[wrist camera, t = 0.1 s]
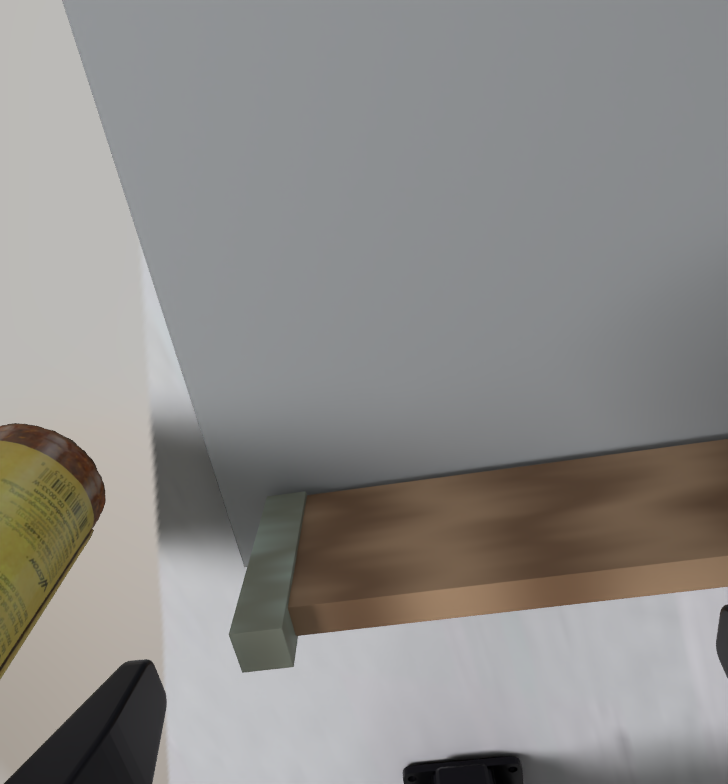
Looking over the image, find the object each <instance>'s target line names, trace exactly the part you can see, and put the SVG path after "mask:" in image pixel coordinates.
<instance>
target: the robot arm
mask: <svg viewBox="0 0 728 784" xmlns="http://www.w3.org/2000/svg"><path fill="white" fill-rule="evenodd" d="M716 649H717V654H718V657H719V660H720V662H721V665H722V667H723V669H724V671H725V673H726V676H727V678H728V605H725V606H723V608H722V609H721V612H720V618H719V625H718V632H717V639H716ZM166 704H167V700H166V693H165V690H164V688H163V685H162V683H161V680H160V678H159V675H158V673H157V670H156V668H155V666H154V664H153V662H152V661H150V660H147V659H146V660H135V661H128V662H125V663H124V664H122V665H121V666H120V667H119V668H118V669H117V670H116V671H115V672H114V673H113V674H112V675H111V676H110V677H109V678H108V679H107V680H106V681H105V682H104V683H103V684H102V685H101V686H100V687H99V689H97V690H96V691H95V692H94V693H93V694H92V695H91V696H90V697H89V698H88V699H87V700H86V701H85V702H84V703H83V704H82V705H81V706H80V707H79V708H78V709H77V710H76V711H75V712H74V713H73V714H72V715H71V716H70V718H68V719H67V720H66V722H64V724H63V725H62V726H61V727H60V728H59V729H58V730H57V731H56V732H55V733H54V734H53V735H52V736H51V737H50V738H49V739H48V740H47V741H46V742H45V743H44V744H43V745H42V746H41V747H40V748H39V749H38V750H37V751H36V752H35V753H34V754H33V755H32V756H31V757H30V758H29V759H28V760H27V761H26V762H25V763H24V764H23V765H22V766H21V767H20V768H19V769H18V770H17V771H16V772H15V773H14V774H13V775H12V776H11V777H10V778H9V779H8V780H7V781H6V782H5V783H4V784H152V782H153V777H154V771H155V766H156V761H157V755H158V750H159V744H160V739H161V734H162V728H163V723H164V718H165V712H166ZM403 781H404V784H523V773H522V766H521V762H520V759H519V758H517V757H500V758H489V759H479V760H468V761H458V762H447V763H437V764H426V765H415V766H408V767H406V768H404V770H403Z"/></svg>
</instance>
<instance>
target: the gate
mask: <svg viewBox="0 0 728 784" xmlns="http://www.w3.org/2000/svg"><path fill="white" fill-rule="evenodd" d="M720 587H728V439H724V440H716V441H709V442H701V443H694V444H686V445H679V446H671V447H664V448H657V449H649V450H642V451H634V452H627V453H619V454H612V455H604V456H597V457H589V458H582V459H574V460H567V461H559V462H552V463H544V464H537V465H530V466H522V467H515V468H507V469H500V470H492V471H485V472H477V473H470V474H462V475H455V476H447V477H440V478H432V479H425V480H418V481H410V482H403V483H395V484H388V485H380V486H373V487H365V488H358V489H350V490H343V491H335V492H328V493H320V494H313V495H307V493H306V491H304V492H296V493H289V494H281V495H274V496H267V498H266V502H265V505H264V509H263V513H262V516H261V520H260V524H259V527H258V531H257V534H256V538H255V542H254V545H253V549H252V552H251V556H250V560H249V563H248V567H247V571H246V574H245V578H244V581H243V585H242V589H241V592H240V596H239V599H238V603H237V607H236V610H235V614H234V618H233V621H232V625H231V628H230V632H229V636H230V639H231V642H232V645H233V648H234V650H235V653H236V656H237V659H238V662H239V664H240V667H241V670H242V673H243V672H252V671H261V670H270V669H279V668H288V667H294V660H295V653H296V646H297V639H298V636H300V635H309V634H317V633H326V632H335V631H344V630H352V629H361V628H370V627H379V626H387V625H396V624H405V623H414V622H422V621H431V620H440V619H449V618H457V617H466V616H475V615H484V614H492V613H501V612H510V611H519V610H527V609H536V608H545V607H554V606H562V605H571V604H580V603H588V602H597V601H606V600H615V599H623V598H632V597H641V596H650V595H658V594H667V593H676V592H685V591H693V590H702V589H711V588H720Z"/></svg>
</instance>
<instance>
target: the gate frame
mask: <svg viewBox="0 0 728 784" xmlns="http://www.w3.org/2000/svg"><path fill="white" fill-rule="evenodd" d="M62 1H63V4H64V7H65V10H66V14H67V17H68V20H69V23H70V26H71V29H72V32H73V35H74V39H75V42H76V45H77V48H78V51H79V54H80V57H81V60H82V63H83V67H84V69H85V73H86V75H87V79H88V82H89V85H90V88H91V91H92V95H93V97H94V101H95V104H96V107H97V110H98V113H99V116H100V119H101V122H102V125H103V129H104V132H105V135H106V138H107V141H108V144H109V147H110V150H111V154H112V157H113V160H114V163H115V166H116V169H117V172H118V175H119V178H120V181H121V185H122V188H123V191H124V193H125V197H126V200H127V203H128V206H129V209H130V212H131V216H132V218H133V222H134V225H135V228H136V231H137V234H138V237H139V240H140V244H141V247H142V250H143V253H144V256H145V259H146V262H147V265H148V268H149V272H150V275H151V278H152V281H153V284H154V287H155V290H156V293H157V296H158V299H159V303H160V306H161V309H162V312H163V315H164V318H165V321H166V324H167V327H168V331H169V334H170V337H171V340H172V343H173V346H174V349H175V352H176V355H177V358H178V362H179V365H180V368H181V371H182V374H183V377H184V380H185V383H186V386H187V390H188V393H189V396H190V399H191V402H192V405H193V408H194V411H195V414H196V417H197V421H198V424H199V427H200V430H201V433H202V436H203V439H204V442H205V445H206V449H207V452H208V455H209V458H210V461H211V464H212V467H213V470H214V473H215V477H216V480H217V483H218V486H219V489H220V492H221V495H222V498H223V501H224V504H225V508H226V511H227V514H228V517H229V520H230V523H231V526H232V529H233V532H234V536H235V539H236V542H237V545H238V548H239V551H240V554H241V557H242V560H243V563H244V567H248V563H249V560H250V556H251V552H252V549H253V545H254V542H255V538H256V534H257V531H258V527H259V524H260V520H261V516H262V513H263V509H264V505H265V502H266V498H267V496H274V495H281V494H289V493H296V492H304V491H306V493H307V495H313V494H320V493H328V492H335V491H343V490H350V489H358V488H365V487H373V486H380V485H388V484H395V483H403V482H410V481H418V480H425V479H432V478H440V477H447V476H455V475H462V474H470V473H477V472H485V471H492V470H500V469H507V468H515V467H522V466H530V465H537V464H544V463H552V462H559V461H567V460H574V459H582V458H589V457H597V456H604V455H612V454H619V453H627V452H634V451H642V450H649V449H657V448H664V447H671V446H679V445H686V444H694V443H701V442H709V441H716V440H724V439H728V0H62Z"/></svg>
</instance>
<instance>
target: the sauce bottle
mask: <svg viewBox="0 0 728 784" xmlns="http://www.w3.org/2000/svg"><path fill="white" fill-rule="evenodd" d="M104 505H105V488H104V483H103V481H102V477H101V476H100V474H99V473H98V471H97V468H96V465H95V463H94V462H93V460H92V459H91V458H90V457H89V456H88V455H87V454H86V452H85V451H84V450H82V449H81V448H80V447H79V446H77V444H76V443H75V442H73V440H71V439H69V438H66V437H64V436H62V435H60V434H59V433H57V432H55V431H53V430H52V431H51V430H48V429H44V428H42V427H39V426H33V425H27V424H16V423H15V424H8V425H2V426H0V679H1V678H2V676H3V674H4V673H5V671H6V670H7V668H8V666H9V665H10V663H11V662H12V660H13V659H14V657H15V656H16V654H17V652H18V651H19V649H20V648H21V646H22V645H23V643H24V641H25V640H26V638H27V637H28V635H29V634H30V632H31V630H32V629H33V627H34V626H35V624H36V622H37V621H38V619H39V618H40V616H41V615H42V613H43V611H44V610H45V608H46V607H47V605H48V604H49V602H50V600H51V599H52V597H53V596H54V594H55V592H56V591H57V589H58V588H59V586H60V585H61V583H62V581H63V580H64V578H65V577H66V575H67V573H68V572H69V570H70V569H71V567H72V566H73V564H74V563H75V561H76V560H77V558H78V556H79V555H80V553H81V552H82V550H83V549H84V547H85V546H86V544H87V542H88V541H89V539H90V538H91V536H92V533H93V531H94V530H93V529H92V528H93V527H94V526H95V524H96V522H97V521H98V519H99V516H100V514H101V513H102V511H103V508H104Z"/></svg>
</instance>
